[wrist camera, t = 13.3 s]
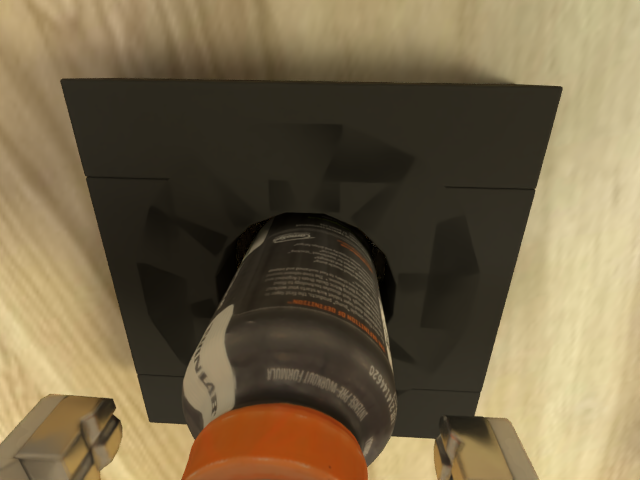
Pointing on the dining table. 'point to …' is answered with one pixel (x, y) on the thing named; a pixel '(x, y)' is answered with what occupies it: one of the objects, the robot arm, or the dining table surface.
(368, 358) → the pill bottle
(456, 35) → the dining table surface
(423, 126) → the socket pad
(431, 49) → the dining table surface
